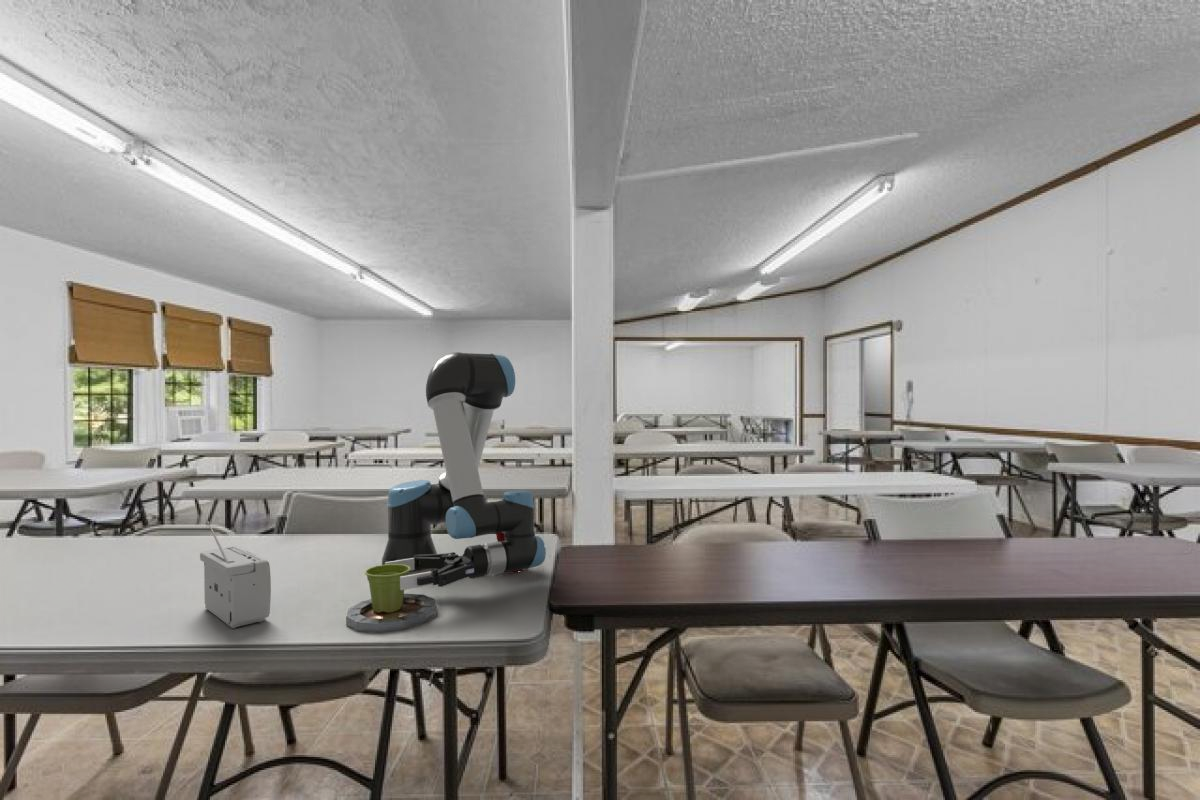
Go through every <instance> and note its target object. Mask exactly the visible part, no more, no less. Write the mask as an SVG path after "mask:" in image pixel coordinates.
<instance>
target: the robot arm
mask: <svg viewBox="0 0 1200 800" xmlns="http://www.w3.org/2000/svg"><path fill="white" fill-rule="evenodd" d="M515 388H516V372H515V369H514V366H513V364H512V362H511V361H510V359H509V358H507V357H506V356H505V355H502V354H494V353H472V352H471V353H469V352H451V353H448V354H446V355H444V356H442V357H441V358H440V359H438V360H437V361H436V362H435V364H434V365H433V367H431V369H430V371H429V374H428V377H427V380H426V385H425V397H426V401H427V402H426V403H427V406H428V408H429V409H431V410H432V412H433V415H434V420H435V425H436V429H437V430H436V431H437V434H438V435H437V436H438V439H439V444H440V449H441V453H442V457H443V462H444V467H445V468H444V469H445V471H443V472H442V473H441V474H440V476H439V480H438V483H433V484H432V483H431V481H430V480H429V479H419V480H411V481H405V482H402V483H398V484H396V485H394V486H391V488H390V489H389V490H388V495H387V503H386V504H387V505H386V506H387V525H388V526H387V531H388V532H387V533H388V535H387V542H386V546H385V549H384V552H383V555H382V559H381V565H387V564H401V565H407V566H409V567H410V571H409V572H416V571H421V570H425V569H426V570H428V569H429V570H430V569H432V570H431V571H426V572H425V571H424V572H419V573H412V574H408V575H407V576H401V577H400V590H404V591H406V590H410V589H415V588H420V587H421V588H422V587H426V586H438V587H444V586H448V585H451V584H452V583H456V582H458V581H461V580H464V579H465V578H469V579H471V580H472V579H479V578H484V577H485V576H492V575H493V577H497V576H498V574H503V573H506V572H509V571H515V570H522V569H524V570H529V569H532V568H535V567H538V566H541V565H542V564H543V563H544V562H545V559H546V555H547V550H546V547H545V542H544V540H543V538H542V537H541V536H538V535H536V533H535V502H534V494H533V493H532V492H531V491H530V490H526V489H517V490H516V489H515V490H508V491H505V492H504V493H503V495H502V499H501V500H498V501H497V500H496V501H491V502H490V501H489V502H486V498H485V495H484V489H483V486H482V483H481V478H480V473H479V467H480V462H481V460H482V459H481V458H482V456H483V451H484V448H485V445H486V442H487V437H488V433H489V429H490V426H491V422H492V418H493V414H494V411H495V410H498V409H499V408H500V407H501V406H502V402H503V399H504V398H508V397H510V396H511V395H512V394H514V392H515ZM440 524H445V529H446V531H447V533H448V535H449V536H450V537H451V538H452V539H455V540H460V539H473V538H475V537H481V536H485V535H491V534H496V533H500V532H504V536H505V541H501V542H498V541H494V542H493V541H492V542H487V543H483V544H477V545H469V546H466V547H465V549H464V552H463V555H459V554H456V552H454V551H452V552H448V553H447V552H446V553H437V550H436V546H435V544H434V541H433V538H432V525H440Z"/></svg>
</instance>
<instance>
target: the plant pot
mask: <svg viewBox="0 0 1200 800" xmlns="http://www.w3.org/2000/svg"><path fill="white" fill-rule="evenodd" d="M410 572H411V571H410V567H409V566H407V565H401V564H387V565H382V564H380V565H376V566H371V567H369V568H367V569H365V571H364V575H366V577H367V578H366V579H367V582H368V584H369V592H370V599H371V600H372V608H373V611H375V612H378V613H380V612H386V613H389V612H393V611H397V610H399V609H400V608H401V607H402V603H403V596H404V594H405V590H400V577H401V576H407V575H409V573H410Z"/></svg>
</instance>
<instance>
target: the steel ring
mask: <svg viewBox="0 0 1200 800" xmlns="http://www.w3.org/2000/svg"><path fill="white" fill-rule="evenodd" d="M436 615H437V604H436V599H435V598H433V597H431V596H428V595H425V594H422V593H421V594H418V593H417V594H416V593H404V596H403V603H402V607H401V608H400V609H399V610H397V611H393V612H389V613H386V612H380V613H378V612H375V611H373V608H372V600H371V598H369V599H366V600H363V601H360V602H358V603H357V604H355V605H353V606H351V607H350V608H348V610H347V612H346V617H345V619H346V621H345V622H346V624H345V625H346V626H347V627H349V628H351V629H352V630H354V631H356V632H365V633H378V634H380V633H388V632H396V631H403V630H407V629H410V628H413V627H417V626H419V625H421V624H425V623H427V622H428V621H429V620H431V619H432V618H434V617H436Z"/></svg>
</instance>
